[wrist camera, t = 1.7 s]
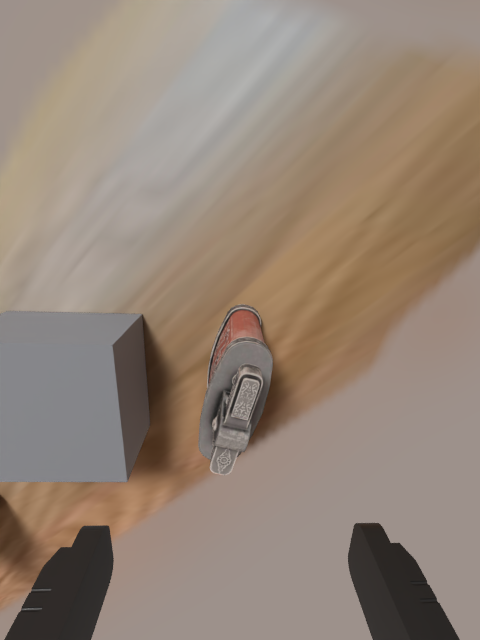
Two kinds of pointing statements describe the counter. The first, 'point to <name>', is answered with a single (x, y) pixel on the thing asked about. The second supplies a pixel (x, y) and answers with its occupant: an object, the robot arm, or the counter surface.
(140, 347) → the pedestal block
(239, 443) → the lighter
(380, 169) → the counter surface
